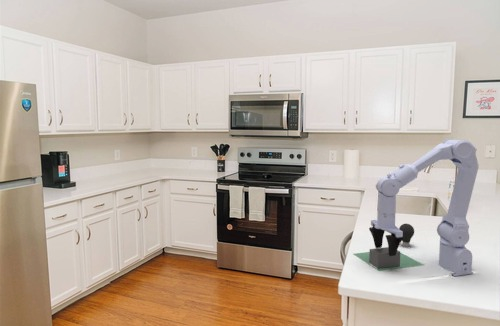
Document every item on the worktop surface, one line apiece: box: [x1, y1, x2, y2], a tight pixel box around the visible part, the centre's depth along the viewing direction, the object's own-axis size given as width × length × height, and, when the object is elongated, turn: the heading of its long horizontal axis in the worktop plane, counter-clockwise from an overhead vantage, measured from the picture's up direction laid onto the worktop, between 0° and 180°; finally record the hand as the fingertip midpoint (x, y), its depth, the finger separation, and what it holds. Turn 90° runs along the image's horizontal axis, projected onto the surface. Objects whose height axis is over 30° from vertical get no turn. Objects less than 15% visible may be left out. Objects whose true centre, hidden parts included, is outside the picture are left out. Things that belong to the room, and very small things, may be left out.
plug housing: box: [369, 246, 401, 269], centre depth 119 cm, size 5×9×5 cm, turn 105°
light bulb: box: [398, 223, 415, 248], centre depth 138 cm, size 6×6×10 cm
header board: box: [353, 251, 424, 272], centre depth 124 cm, size 16×18×4 cm
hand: (385, 251), depth 119 cm, fingers open, 7 cm apart
